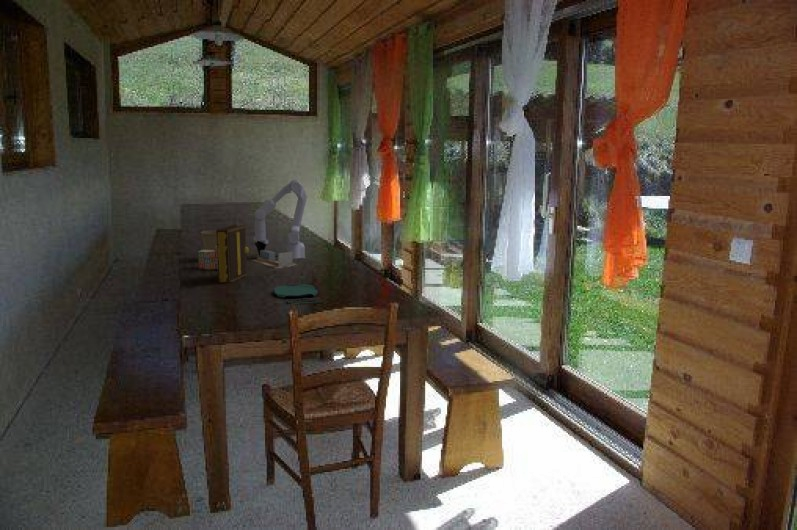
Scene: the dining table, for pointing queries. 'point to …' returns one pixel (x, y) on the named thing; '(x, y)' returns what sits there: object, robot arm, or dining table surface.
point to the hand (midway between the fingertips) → (261, 255)
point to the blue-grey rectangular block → (267, 255)
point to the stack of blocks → (208, 259)
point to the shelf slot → (278, 261)
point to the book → (231, 253)
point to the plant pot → (209, 239)
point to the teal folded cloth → (297, 293)
